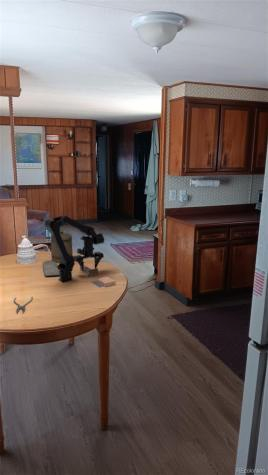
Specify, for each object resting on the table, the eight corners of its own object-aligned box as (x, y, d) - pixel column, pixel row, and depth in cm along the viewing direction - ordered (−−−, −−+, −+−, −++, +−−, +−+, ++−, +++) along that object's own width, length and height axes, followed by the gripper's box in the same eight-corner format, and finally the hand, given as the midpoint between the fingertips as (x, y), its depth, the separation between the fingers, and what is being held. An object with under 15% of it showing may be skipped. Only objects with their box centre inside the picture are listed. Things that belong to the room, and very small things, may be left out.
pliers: (31, 295, 186) (37, 310, 168) (32, 296, 186) (37, 311, 168) (12, 297, 182) (16, 313, 164) (13, 299, 182) (16, 315, 164)
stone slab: (57, 259, 243) (61, 271, 215) (57, 264, 244) (61, 276, 216) (41, 261, 240) (43, 273, 212) (42, 265, 241) (44, 278, 213)
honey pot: (14, 261, 246) (12, 236, 242) (31, 257, 254) (29, 233, 250) (22, 265, 237) (20, 239, 233) (39, 261, 245) (38, 236, 241)
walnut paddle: (77, 271, 226) (77, 263, 225) (86, 269, 229) (85, 262, 228) (89, 278, 213) (89, 270, 212) (98, 276, 217) (97, 268, 215)
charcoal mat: (99, 288, 197) (99, 287, 197) (90, 282, 206) (90, 281, 206) (115, 284, 203) (115, 283, 203) (106, 278, 212) (106, 278, 212)
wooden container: (73, 256, 257) (72, 227, 252) (71, 262, 243) (70, 232, 237) (53, 257, 256) (52, 227, 251) (50, 263, 242) (48, 232, 237)
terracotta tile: (97, 282, 205) (105, 287, 198) (97, 278, 204) (105, 283, 197) (107, 280, 209) (115, 284, 202) (107, 276, 208) (115, 280, 201)
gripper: (95, 241, 227) (95, 264, 231) (69, 245, 216) (69, 269, 220) (103, 244, 218) (104, 268, 222) (77, 249, 208) (77, 273, 211)
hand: (89, 269), depth 219 cm, fingers open, 9 cm apart
